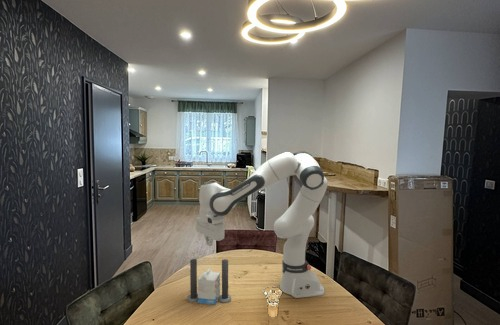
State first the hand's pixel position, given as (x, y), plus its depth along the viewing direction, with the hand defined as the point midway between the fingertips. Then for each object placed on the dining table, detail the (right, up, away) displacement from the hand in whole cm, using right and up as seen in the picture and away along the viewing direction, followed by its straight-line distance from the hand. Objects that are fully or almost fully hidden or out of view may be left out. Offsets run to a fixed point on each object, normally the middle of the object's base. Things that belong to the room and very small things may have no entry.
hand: (209, 245), depth 129 cm
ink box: (0, -27, +1) cm, 27 cm away
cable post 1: (-8, -26, +1) cm, 28 cm away
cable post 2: (+7, -27, +1) cm, 27 cm away
